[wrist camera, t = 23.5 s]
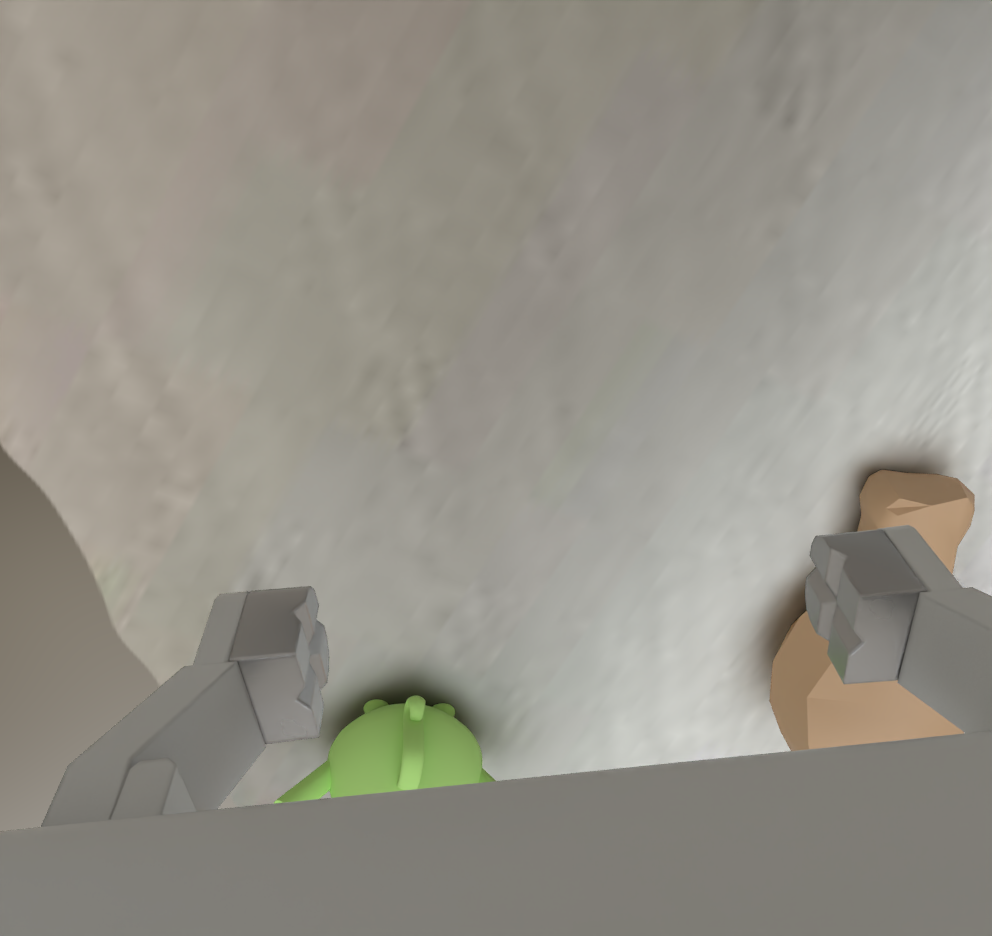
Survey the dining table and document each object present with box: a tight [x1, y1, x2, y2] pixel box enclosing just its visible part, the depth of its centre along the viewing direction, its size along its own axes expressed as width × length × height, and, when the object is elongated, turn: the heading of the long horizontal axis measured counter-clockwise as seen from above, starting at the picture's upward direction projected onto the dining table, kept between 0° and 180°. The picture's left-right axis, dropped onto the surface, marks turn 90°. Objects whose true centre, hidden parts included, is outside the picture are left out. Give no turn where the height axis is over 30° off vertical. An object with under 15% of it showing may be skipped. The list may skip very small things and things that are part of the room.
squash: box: [770, 470, 974, 751], centre depth 48 cm, size 11×20×9 cm, turn 0°
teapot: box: [274, 695, 495, 804], centre depth 52 cm, size 11×12×8 cm
